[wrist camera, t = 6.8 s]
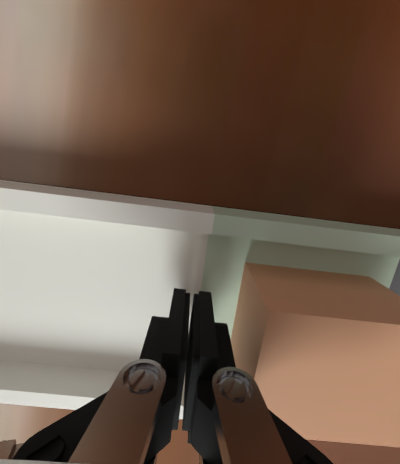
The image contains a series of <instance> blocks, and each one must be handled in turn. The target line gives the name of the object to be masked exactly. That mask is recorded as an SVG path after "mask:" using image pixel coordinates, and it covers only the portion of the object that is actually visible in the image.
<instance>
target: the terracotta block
mask: <svg viewBox="0 0 400 464" xmlns="http://www.w3.org/2000/svg"><path fill="white" fill-rule="evenodd" d="M231 345H232V350H233V355H234V360H235V365H236V368H238V369H241V370H243V371H245V372H247V373H248V374H249V375H250V376H251V377H252V378H253V379H254V380H255V382H256V383H257V385H258V387H259V390H260V392H261V394H262V396H263V399H264V401H265V403H266V405H267V408H268V409H269V410H270V411H271V412H273V413H274V414H275V415H276V416H278V417H279V418H280V419H281V420H282V421H284V422H285V423H286V424H287V425H288V426H290V427H291V428H292V429H293V430H295V431H296V432H297V433H298V434H299V435H301V436H302V437H303V438H304V439H309V440H320V441H332V442H344V443H356V444H367V445H379V446H391V447H400V296H399V295H398V294H396V293H394V292H393V291H391V290H390V289H388V288H387V287H385V286H383V285H382V284H380V283H379V282H377V281H376V280H374V279H372V278H371V277H369V276H360V275H351V274H343V273H334V272H325V271H316V270H308V269H299V268H290V267H281V266H272V265H264V264H255V263H246V262H245V264H244V270H243V275H242V281H241V286H240V292H239V297H238V303H237V308H236V314H235V319H234V324H233V330H232V335H231Z"/></svg>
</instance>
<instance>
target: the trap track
mask: <svg viewBox="0 0 400 464" xmlns="http://www.w3.org/2000/svg"><path fill="white" fill-rule="evenodd" d="M245 262H246V263H255V264H264V265H272V266H281V267H290V268H299V269H308V270H316V271H325V272H334V273H343V274H351V275H360V276H369V277H371V278H372V279H374V280H376V281H377V282H379V283H380V284H382V285H383V286H385V287H387V288H388V289H390V290H391V291H393V292H394V293H396V294H398V295H399V296H400V229H394V228H386V227H378V226H370V225H362V224H354V223H346V222H338V221H329V220H321V219H313V218H305V217H297V216H289V215H281V214H273V213H265V212H257V211H249V210H241V209H233V208H225V207H217V206H208V205H200V204H192V203H184V202H176V201H168V200H160V199H152V198H144V197H136V196H128V195H120V194H112V193H104V192H95V191H87V190H79V189H71V188H63V187H55V186H47V185H39V184H31V183H23V182H15V181H7V180H0V403H4V404H15V405H27V406H38V407H49V408H61V409H72V410H77V409H79V408H80V407H82V406H84V405H85V404H87V403H89V402H90V401H92V400H94V399H96V398H97V397H99V396H101V395H102V394H104V393H106V392H108V391H109V389H110V388H111V386H112V384H113V382H114V381H115V379H116V377H117V375H118V374H119V372H120V371H121V369H122V368H123V367H124V366H125V365H127V364H128V363H130V362H132V361H135V360H139V358H140V355H141V351H142V348H143V345H144V341H145V338H146V335H147V331H148V328H149V324H150V321H151V318H152V316H158V317H168V318H169V313H170V308H171V302H172V297H173V291H174V288H178V289H186V293H190V312H189V327H190V319H191V312H192V304H193V297H194V294H198V293H199V291H206V292H211V295H212V304H213V312H214V320H215V322H217V323H226V324H227V325H228V330H229V335H230V340H231V335H232V330H233V324H234V319H235V314H236V308H237V303H238V297H239V292H240V286H241V281H242V275H243V270H244V264H245ZM188 334H189V333H188ZM184 388H185V378H184V385H183V392H182V400H181V407H180V414H179V419H183V407H184Z"/></svg>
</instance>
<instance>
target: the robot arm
mask: <svg viewBox="0 0 400 464" xmlns="http://www.w3.org/2000/svg"><path fill="white" fill-rule="evenodd" d="M189 312H190V293H186V289H178V288H174V291H173V297H172V302H171V308H170V313H169V318H168V317H158V316H152V318H151V321H150V324H149V328H148V331H147V335H146V338H145V341H144V345H143V348H142V351H141V355H140V358H139V360H135V361H132V362H130V363H128V364H127V365H125V366H124V367H123V368H122V369H121V371H120V372H119V374H118V375H117V377H116V379H115V381H114V382H113V384H112V386H111V388H110V389H109V391H108V392H106V393H104V394H102V395H101V396H99V397H97V398H96V399H94V400H92V401H90V402H89V403H87V404H85V405H84V406H82V407H80V408H79V409H77V410H75V411H73V412H72V413H70V414H68V415H67V416H65V417H63V418H61V419H60V420H58V421H56V422H55V423H53V424H51V425H50V426H48V427H46V428H44V429H43V430H41V431H39V432H38V433H36V434H35V435H33V436H32V437H31V438H29V439H28V440H27V441H26V442H25V443H21V444H16V439H15V440H8V441H2V442H0V464H156V462H157V454H158V452H159V451H160V450H161V449H163V448H164V447H165V446H166V445H167V444H168V443H169V442H170V439H171V431H172V430H177V429H178V422H179V414H180V407H181V400H182V392H183V385H184V378H185V388H184V407H183V426H182V430H185V431H188V443H191V444H192V446H193V447H194V448H195V449H196V450H197V452H198V453H199V464H333V463H332V462H331V461H330V460H329V459H328V458H327V457H326V456H325V455H324V454H323V453H321V452H320V451H319V450H318V449H317V448H315V447H314V446H313V445H312V444H310V443H309V442H308V441H307V440H306V439H304V438H303V437H302V436H301V435H299V434H298V433H297V432H296V431H295V430H293V429H292V428H291V427H290V426H288V425H287V424H286V423H285V422H284V421H282V420H281V419H280V418H279V417H278V416H276V415H275V414H274V413H273V412H271V411H270V410H269V409H268V408H267V405H266V403H265V401H264V399H263V396H262V394H261V392H260V390H259V387H258V385H257V383H256V382H255V380H254V379H253V378H252V377H251V376H250V375H249V374H248V373H247V372H245V371H243V370H241V369H238V368H236V365H235V360H234V355H233V350H232V345H231V340H230V335H229V330H228V325H227V324H226V323H217V322H215V320H214V312H213V304H212V295H211V292H206V291H199V293H198V294H194V297H193V304H192V312H191V319H190V327H189ZM188 333H189V334H188Z"/></svg>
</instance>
